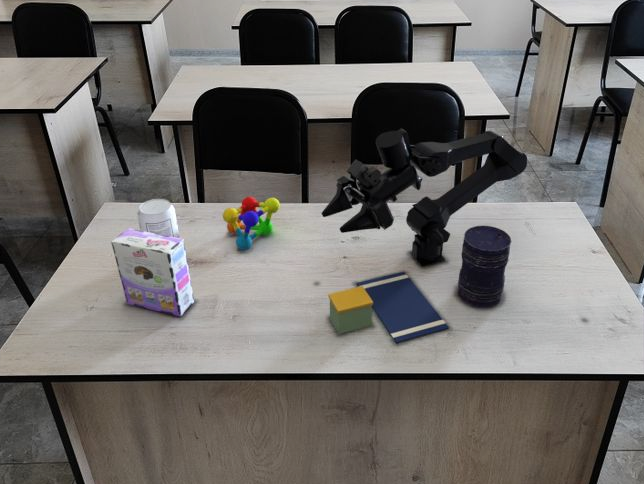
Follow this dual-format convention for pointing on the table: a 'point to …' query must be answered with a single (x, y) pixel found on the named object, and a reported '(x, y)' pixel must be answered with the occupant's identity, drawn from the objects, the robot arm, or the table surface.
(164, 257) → the candy box
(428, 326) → the tea towel
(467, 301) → the storage jar
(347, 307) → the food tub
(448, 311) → the table surface
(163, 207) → the supplement can
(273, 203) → the molecular model
